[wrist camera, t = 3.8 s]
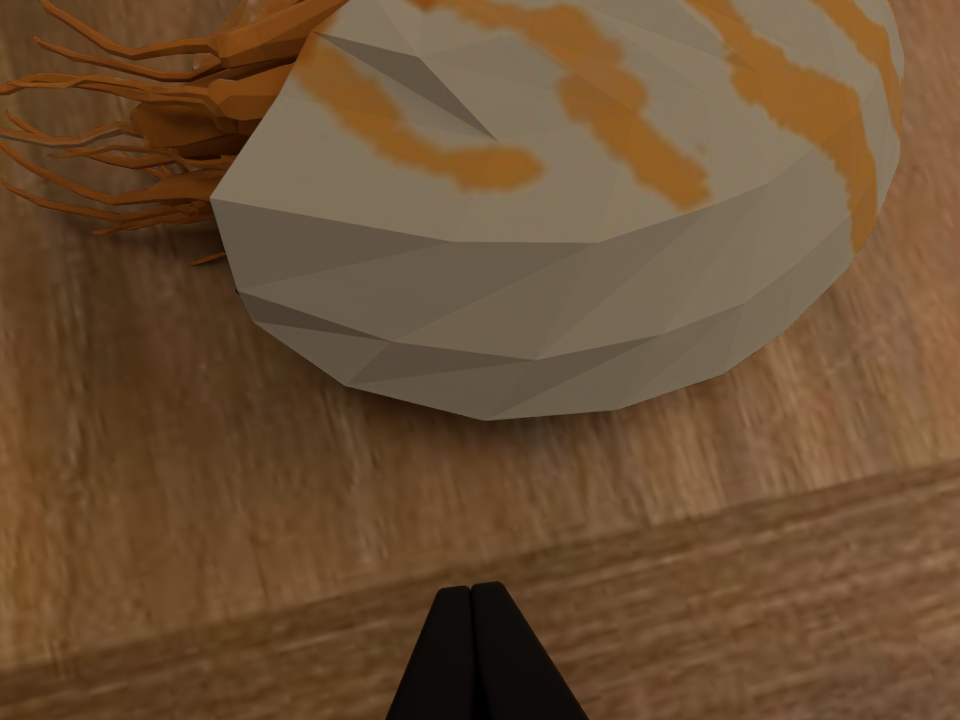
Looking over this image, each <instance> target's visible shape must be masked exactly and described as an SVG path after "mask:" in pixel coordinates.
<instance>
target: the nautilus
mask: <svg viewBox="0 0 960 720" xmlns="http://www.w3.org/2000/svg"><path fill="white" fill-rule="evenodd" d="M38 1H39V2H40V3H41V4H42V6H43V8H44V9H45V11H46V12H47V13H48V14H50V15H52V16H54V17H56V18H58V19H59V20H61V21H62V22H64V23H65V24H67V25H68V26H70V27H71V28H72V29H74V30H75V31H77V32H78V33H80V34H81V35H83V36H84V37H86V38H87V39H88V40H90V41H91V42H93V43H94V44H96V45H97V46H99V47H100V48H102V49H103V50H104V51H106V52H107V53H109V54H112V55H116V56H120V57H123V58H127V59H130V60H134V61H136V60H142V59H148V58H154V57H160V56H168V55H176V54H196V57H195V61H194V64H193V68H192V69H193V70H194V71H192V72H165V71H160V70H156V69H151V68H147V67H142V66H138V65H134V64H129V63H125V62H120V61H116V60H112V59H107V58H103V57H98V56H93V55H83V54H77V53H75V52H73V51H71V50H69V49H67V48H64V47H60V46H56V45H52V44H48V43H44V42H43V41H42V40H41V39H40V38H38V37H37V36H32V37H33V38H34V39H35V40H36V42H37V43H38V44H39V45H40V46H41V48H44V49H46V50H49V51H52V52H55V53H58V54H61V55H63V56H65V57H67V58H68V59H70V60H72V61H76V62H83V63H90V64H94V65H98V66H102V67H106V68H110V69H114V70H118V71H122V72H126V73H130V74H134V75H138V76H142V77H146V78H150V79H154V80H158V81H161V82H190V83H187V84H185V85H182V86H179V87H162V86H155V85H150V84H146V83H142V82H138V81H133V80H127V79H122V78H116V77H111V76H105V75H100V74H91V75H82V76H80V77H79V76H72V75H65V74H58V73H50V72H48V73H40V74H33V75H28V76H25V77H23V78H21V79H18V80H16V81H14V82H13V81H7V82H6V83H5V84H7V85H0V95H10V94H12V93H15V92H17V91H19V90H21V89H24V88H68V87H75V88H81V89H88V90H94V91H101V92H107V93H111V94H114V95H118V96H122V97H125V98H129V99H132V100H136V101H140V102H142V103H141V104H140V105H138V106H137V107H136V108H134V109H133V111H132V113H131V115H130V119H131V121H132V122H133V123H123V122H116V123H112V124H108V125H103V126H99V127H97V128H95V129H94V130H92V131H91V132H89V133H87V134H86V135H84V136H82V137H50V136H47V135H45V134H44V133H42V132H40V131H38V130H36V129H35V128H33V127H31V126H29V125H27V124H26V123H24V122H22V121H20V120H19V119H17V118H15V117H13V116H12V115H11V114H10V112H9V111H8V110H7V109H6V115H7V117H8V119H9V121H11V122H13V123H14V124H16V125H17V126H19V127H20V128H22V129H23V130H25V131H27V132H23V131H17V130H12V129H6V128H1V127H0V137H1V138H6V139H11V140H16V141H20V142H25V143H30V144H35V145H39V146H44V147H49V148H61V149H64V150H67V151H70V152H73V153H68V154H62V155H56V154H48V155H47V156H51V157H56V158H71V157H80V156H86V157H89V158H92V159H95V160H98V161H101V162H104V163H107V164H111V165H116V166H120V167H125V168H130V169H135V170H137V169H144V170H145V171H147V172H149V173H150V174H152V175H154V176H155V177H158V178H161V179H160V181H159V182H158V183H157V184H156V185H155V186H154V187H152V188H151V189H144V190H137V191H130V192H126V193H122V194H117V195H110V194H107V193H103V192H100V191H96V190H92V189H89V188H86V187H84V186H82V185H79V184H77V183H75V182H73V181H70V180H68V179H66V178H63V177H61V176H59V175H56V174H54V173H52V172H49V171H47V170H45V169H43V168H40V167H38V166H36V165H33V164H31V163H30V162H28V161H27V160H26V159H24V158H23V157H22V156H20V155H19V154H17V153H16V152H15V151H13V150H12V149H11V148H9V147H8V146H7V145H5V144H4V143H3V142H1V141H0V148H1V149H2V150H3V151H4V152H5V153H6V154H8V155H9V156H10V157H11V158H12V159H13V160H15V161H16V162H17V163H18V164H20V165H21V166H23V167H25V168H26V169H28V170H29V171H31V172H33V173H35V174H37V175H39V176H41V177H43V178H45V179H47V180H49V181H52V182H54V183H56V184H58V185H60V186H62V187H64V188H67V189H69V190H71V191H73V192H75V193H77V194H80V195H82V196H84V197H86V198H89V199H92V200H96V201H99V202H103V203H107V204H110V205H114V206H118V205H129V204H140V203H150V202H159V203H161V204H163V205H162V206H160V207H158V208H155V209H151V210H146V211H141V212H134V213H126V214H119V213H114V212H108V211H103V210H97V209H92V208H86V207H81V206H76V205H70V204H65V203H59V202H54V201H48V200H45V199H42V198H39V197H37V196H34V195H32V194H29V193H27V192H24V191H22V190H19V189H17V188H14V187H12V186H10V185H9V184H8V183H7V182H5V181H4V180H3V179H2V178H0V182H1V184H2V185H3V186H4V187H5V188H6V189H8V190H10V191H12V192H14V193H16V194H17V195H19V196H21V197H23V198H25V199H27V200H29V201H31V202H33V203H35V204H37V205H39V206H42V207H46V208H50V209H54V210H58V211H62V212H67V213H71V214H76V215H81V216H86V217H91V218H96V219H101V220H106V221H111V222H116V223H122V224H119V225H116V226H113V227H109V228H106V229H103V230H95V231H92V234H96V235H107V234H111V233H114V232H118V231H121V230H135V229H139V228H143V227H147V226H151V225H155V224H159V223H169V224H189V223H194V222H199V221H204V220H211V219H215V220H216V222H217V225H218V228H219V231H220V235H221V238H222V241H223V245H224V248H225V251H224V252H220V253H216V254H214V255H211V256H208V257H206V258H203V259H201V260H198V261H195V262H187V263H188V265H196V264H199V263H203V262H206V261H209V260H212V259H215V258H218V257H222V256H225V255H227V258H228V261H229V265H230V268H231V271H232V275H233V278H234V281H235V284H236V292H237V294H238V295H239V296H240V297H241V299H242V301H243V304H244V306H245V308H246V310H247V312H248V314H249V316H250V318H251V320H252V322H254V323H255V324H257V325H258V326H260V327H261V328H262V329H264V330H265V331H267V332H268V333H270V334H271V335H273V336H274V337H275V338H277V339H278V340H280V341H281V342H283V343H284V344H285V345H287V346H288V347H290V348H291V349H293V350H294V351H295V352H297V353H298V354H300V355H301V356H303V357H304V358H305V359H307V360H308V361H310V362H311V363H313V364H314V365H316V366H317V367H318V368H320V369H321V370H323V371H324V372H326V373H327V374H328V375H330V376H331V377H333V378H334V379H336V380H337V381H338V382H340V383H341V384H343V385H344V386H348V387H352V388H356V389H360V390H364V391H368V392H372V393H376V394H380V395H384V396H388V397H392V398H396V399H400V400H404V401H407V402H411V403H415V404H419V405H423V406H427V407H431V408H435V409H439V410H443V411H447V412H451V413H455V414H459V415H463V416H467V417H471V418H475V419H479V420H483V421H489V420H501V419H513V418H525V417H537V416H549V415H561V414H573V413H585V412H597V411H609V410H618V409H621V408H624V407H627V406H630V405H633V404H636V403H639V402H642V401H645V400H648V399H651V398H654V397H657V396H660V395H663V394H666V393H669V392H672V391H675V390H678V389H681V388H684V387H687V386H690V385H693V384H695V383H698V382H701V381H704V380H707V379H710V378H713V377H716V376H719V375H722V374H724V373H726V372H727V371H729V370H730V369H731V368H733V367H734V366H736V365H737V364H739V363H740V362H741V361H743V360H744V359H746V358H747V357H749V356H750V355H751V354H753V353H754V352H756V351H757V350H759V349H760V348H762V347H763V346H764V345H766V344H767V343H769V342H770V341H772V340H773V339H774V338H776V337H777V336H779V335H780V334H782V333H783V332H784V331H786V330H787V329H788V328H789V327H790V326H791V325H792V324H793V323H794V322H795V321H796V320H797V319H798V318H799V317H800V316H801V315H802V314H803V313H804V312H805V311H806V310H807V309H808V308H809V307H810V306H811V305H812V304H813V303H814V302H815V301H816V300H817V299H818V298H819V297H820V296H821V295H822V294H823V293H824V292H825V291H826V290H827V289H828V288H829V287H830V286H831V285H832V284H833V283H834V282H835V281H836V280H837V279H838V278H839V277H840V276H841V275H842V274H843V273H844V272H845V271H846V270H847V268H848V267H849V265H850V264H851V262H852V261H853V259H854V258H855V256H856V254H857V253H858V251H859V250H860V248H861V247H862V245H863V244H864V242H865V241H866V239H867V237H868V236H869V234H870V233H871V231H872V230H873V228H874V227H875V224H876V221H877V219H878V216H879V213H880V211H881V208H882V205H883V203H884V200H885V197H886V194H887V192H888V189H889V186H890V184H891V181H892V178H893V176H894V173H895V170H896V168H897V165H898V162H899V160H900V141H901V121H902V101H903V81H904V62H905V58H904V54H903V49H902V45H901V41H900V37H899V33H898V29H897V25H896V21H895V17H894V13H893V9H892V5H891V1H890V0H242V1H241V2H240V3H239V4H238V6H237V7H236V8H235V10H234V11H233V12H232V13H231V15H230V16H229V17H228V18H227V20H226V21H225V22H224V23H222V24H221V25H220V26H219V27H218V28H217V29H216V30H215V31H214V32H213V33H212V34H211V35H210V36H209V37H206V38H185V39H179V40H174V41H169V42H163V43H158V44H154V45H150V46H146V47H143V48H139V49H136V50H135V49H132V48H129V47H126V46H122V45H119V44H116V43H114V42H112V41H111V40H109V39H107V38H106V37H104V36H103V35H101V34H99V33H98V32H96V31H95V30H93V29H92V28H90V27H88V26H87V25H85V24H84V23H82V22H80V21H79V20H77V19H76V18H74V17H72V16H71V15H69V14H68V13H66V12H64V11H62V10H59V9H57V8H55V7H54V5H53V4H52V3H51V2H50V1H49V0H38ZM197 79H198V80H197ZM195 80H196V81H195ZM121 134H126V135H130V136H134V137H137V138H143V141H144V145H145V147H137V146H121V145H112V146H107V147H102V148H97V149H89V148H86V147H84V146H86V145H88V144H90V143H93V142H95V141H97V140H99V139H104V138H108V137H113V136H117V135H121ZM148 141H149V142H150V144H151V145H152V147H150V146H149V143H148ZM158 148H161V149H162V150H161V149H158ZM168 148H172V150H168ZM112 150H117V151H122V153H123V154H124V155H125V156H126V158H124V157H119V156H114V155H109V154H106V153H105V152H108V151H112ZM126 151H129V152H141V153H149V154H150V155H147V156H144V157H141V158H138V159H132V158H131V157H130V156H129V154H128V153H127V152H126ZM172 163H175V164H176V165H177V166H178V168H179V169H180V170H181V171H182V172H183V173H181V174H175V175H173V174H172V173H171V171H170V170H169V169H168V167H167V166H166V165H167V164H172ZM183 164H184V165H186V166H190V167H197V168H208V169H202V170H197V171H192V172H189V171H188V169H187V168H186V167H185V166H184V165H183ZM156 166H159V167H160V169H161V170H162V172H160V171H158V170H156V169H154V168H151V167H156ZM190 202H191V203H192V205H187V204H186V203H190ZM176 213H181V214H176Z"/></svg>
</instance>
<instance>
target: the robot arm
mask: <svg viewBox="0 0 960 720" xmlns="http://www.w3.org/2000/svg"><path fill="white" fill-rule="evenodd" d="M385 720H589V719H588V717H587V715H586V714H585V712H584V711H583V709H582V708H581V706H580V704H579V703H578V701H577V700H576V698H575V697H574V695H573V693H572V692H571V690H570V689H569V687H568V685H567V684H566V682H565V681H564V679H563V678H562V676H561V674H560V673H559V671H558V670H557V668H556V667H555V665H554V663H553V662H552V660H551V659H550V657H549V656H548V654H547V652H546V651H545V649H544V648H543V646H542V645H541V643H540V641H539V640H538V638H537V637H536V635H535V634H534V632H533V630H532V629H531V627H530V626H529V624H528V623H527V621H526V619H525V618H524V616H523V615H522V613H521V611H520V610H519V608H518V607H517V605H516V604H515V602H514V600H513V599H512V597H511V596H510V594H509V593H508V591H507V589H506V588H505V586H504V585H503V584H502V583H501V582H498V581H495V582H487V583H479V584H474V585H473V586H472V587H471V591H470V589H469V587H467V586H465V585H463V586H455V587H447V588H442V589H440V590H439V591H438V592H437V594H436V596H435V599H434V601H433V603H432V606H431V608H430V611H429V613H428V616H427V618H426V621H425V623H424V626H423V628H422V630H421V633H420V635H419V638H418V640H417V643H416V645H415V648H414V650H413V653H412V655H411V657H410V660H409V662H408V665H407V667H406V670H405V672H404V675H403V677H402V680H401V682H400V684H399V687H398V689H397V692H396V694H395V697H394V699H393V702H392V704H391V707H390V709H389V712H388V714H387V716H386V719H385Z"/></svg>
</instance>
